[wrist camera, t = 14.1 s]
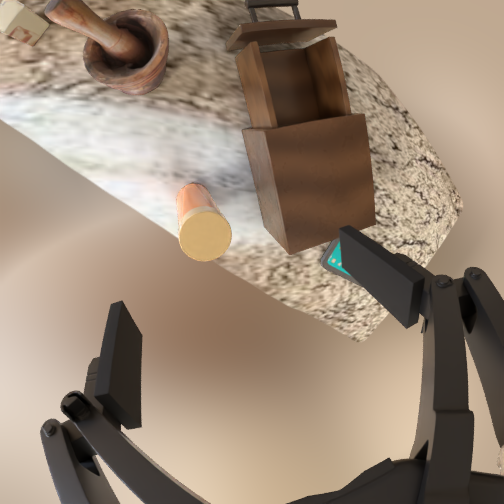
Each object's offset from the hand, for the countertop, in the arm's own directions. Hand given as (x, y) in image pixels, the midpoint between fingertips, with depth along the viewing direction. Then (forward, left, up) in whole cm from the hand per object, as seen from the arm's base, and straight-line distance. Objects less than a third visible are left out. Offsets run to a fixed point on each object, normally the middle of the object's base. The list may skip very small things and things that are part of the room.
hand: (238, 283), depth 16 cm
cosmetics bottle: (-23, -30, -28) cm, 47 cm away
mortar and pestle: (-16, -13, -28) cm, 34 cm away
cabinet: (-5, +14, -28) cm, 32 cm away
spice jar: (+2, 0, -28) cm, 28 cm away
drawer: (-20, +8, -27) cm, 34 cm away
